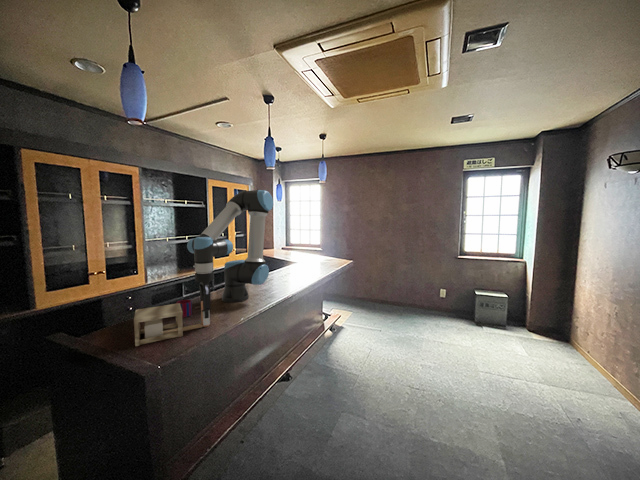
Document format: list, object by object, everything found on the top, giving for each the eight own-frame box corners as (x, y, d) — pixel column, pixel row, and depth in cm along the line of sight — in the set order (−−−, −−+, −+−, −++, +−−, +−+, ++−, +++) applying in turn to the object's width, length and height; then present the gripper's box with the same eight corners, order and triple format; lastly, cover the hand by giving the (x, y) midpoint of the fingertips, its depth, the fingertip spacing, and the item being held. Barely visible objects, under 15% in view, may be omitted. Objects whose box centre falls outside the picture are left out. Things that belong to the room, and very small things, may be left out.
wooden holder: (180, 325, 115) (179, 303, 114) (183, 335, 104) (182, 311, 103) (137, 333, 106) (135, 309, 105) (135, 346, 95) (133, 320, 95)
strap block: (208, 322, 118) (207, 299, 117) (211, 326, 113) (210, 302, 112) (145, 334, 105) (144, 309, 104) (145, 340, 100) (143, 313, 99)
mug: (194, 313, 128) (194, 300, 128) (177, 321, 119) (176, 306, 118) (185, 311, 131) (184, 298, 130) (167, 318, 122) (166, 305, 121)
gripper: (192, 269, 117) (194, 318, 119) (197, 276, 104) (199, 331, 106) (209, 268, 121) (211, 315, 123) (217, 274, 108) (218, 327, 110)
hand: (205, 323), depth 115 cm, fingers closed on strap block, 3 cm apart
